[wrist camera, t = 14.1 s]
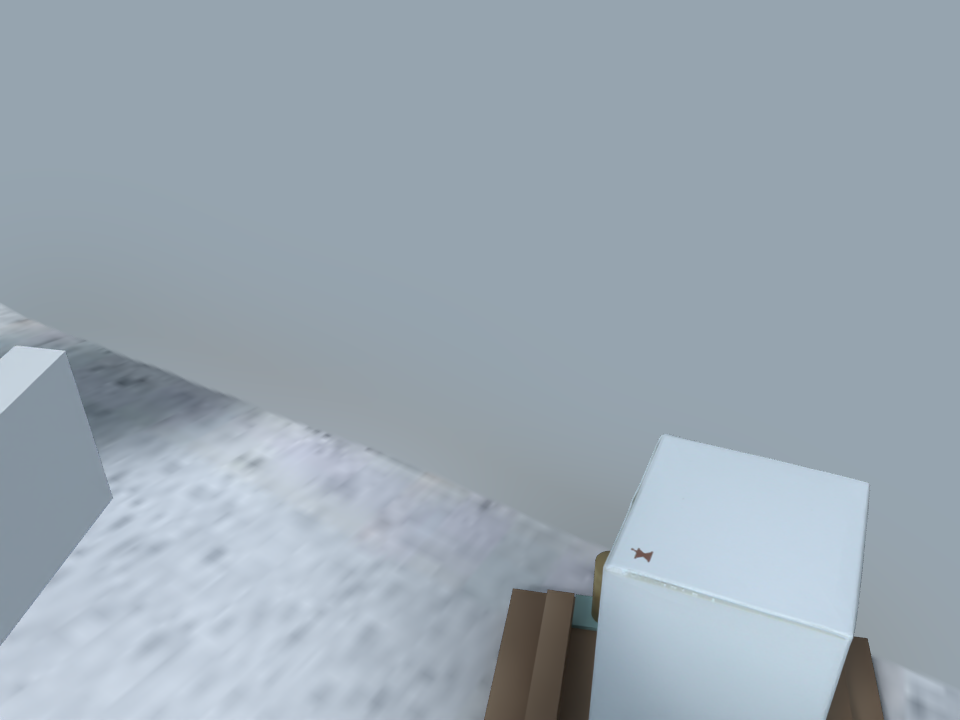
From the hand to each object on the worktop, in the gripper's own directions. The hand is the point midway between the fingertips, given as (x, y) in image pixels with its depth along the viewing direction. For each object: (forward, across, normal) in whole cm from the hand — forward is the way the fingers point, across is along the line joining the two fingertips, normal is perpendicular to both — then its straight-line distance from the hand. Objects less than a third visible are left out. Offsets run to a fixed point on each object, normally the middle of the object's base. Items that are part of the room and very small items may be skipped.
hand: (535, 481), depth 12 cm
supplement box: (+12, +6, -25) cm, 28 cm away
